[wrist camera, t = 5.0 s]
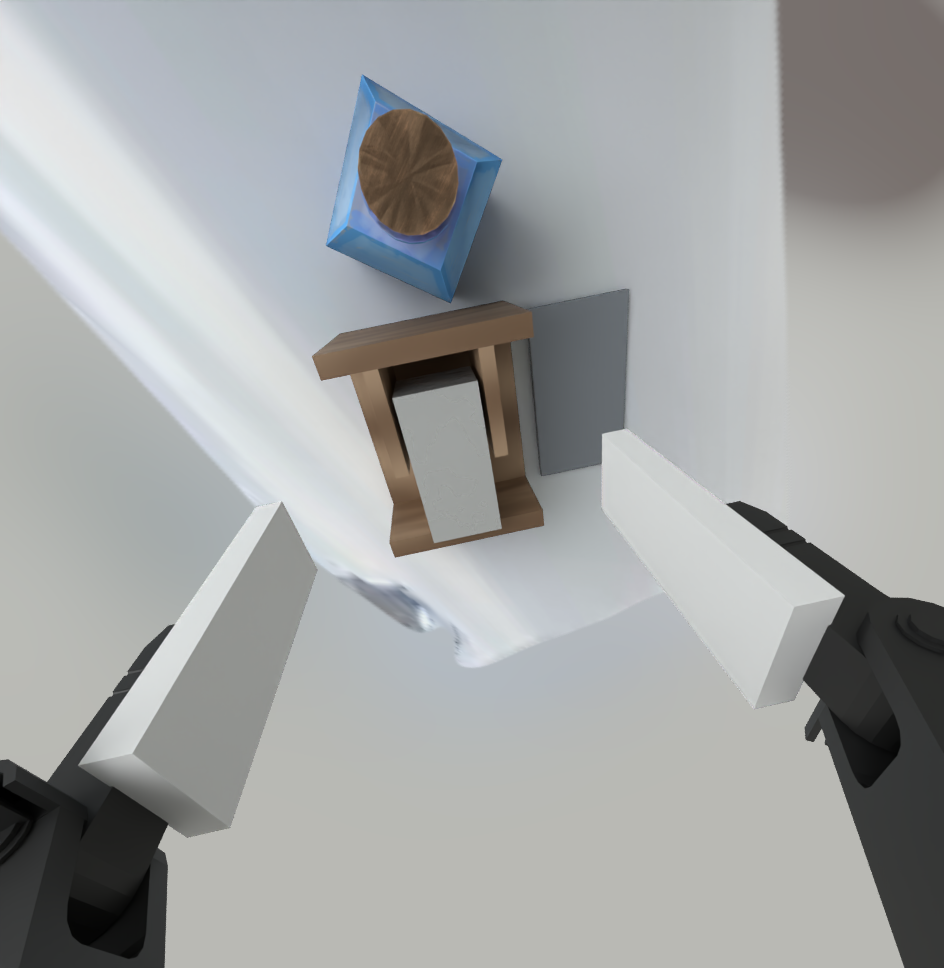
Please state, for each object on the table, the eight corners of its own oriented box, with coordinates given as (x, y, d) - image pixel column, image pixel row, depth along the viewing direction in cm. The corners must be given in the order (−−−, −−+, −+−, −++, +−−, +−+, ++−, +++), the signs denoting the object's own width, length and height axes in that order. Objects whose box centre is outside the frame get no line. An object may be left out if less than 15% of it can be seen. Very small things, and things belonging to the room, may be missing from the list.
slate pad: (525, 309, 25) (527, 309, 25) (626, 288, 26) (629, 289, 25) (540, 474, 32) (541, 476, 32) (620, 457, 32) (622, 459, 32)
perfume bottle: (443, 295, 24) (461, 315, 14) (348, 251, 23) (287, 236, 12) (482, 186, 22) (538, 112, 12) (377, 126, 20) (332, -26, 10)
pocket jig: (340, 333, 25) (311, 356, 18) (502, 300, 25) (531, 311, 18) (398, 511, 32) (393, 572, 26) (524, 484, 32) (550, 538, 26)
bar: (395, 381, 23) (392, 398, 20) (469, 365, 23) (477, 380, 20) (432, 513, 28) (433, 543, 25) (492, 500, 28) (501, 528, 25)
